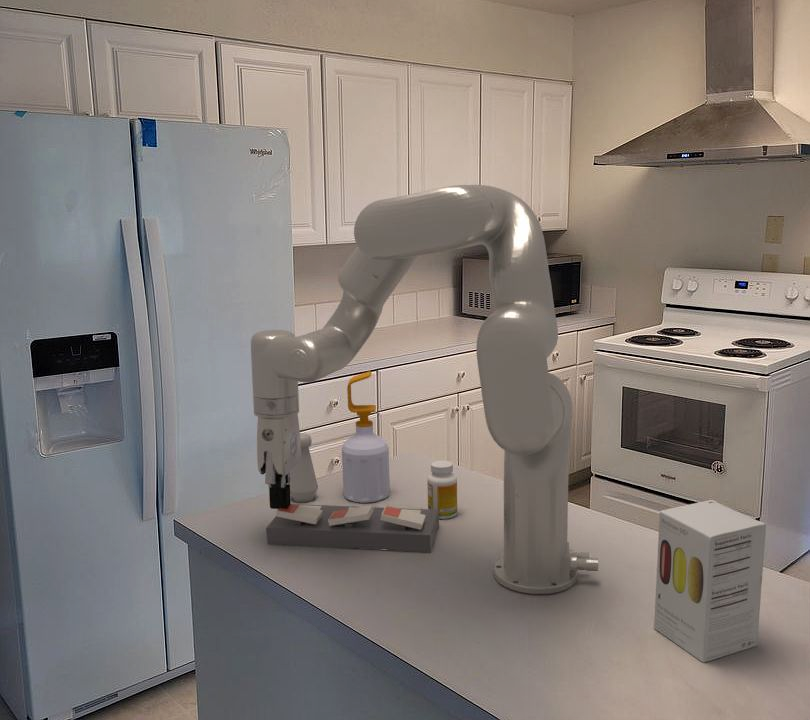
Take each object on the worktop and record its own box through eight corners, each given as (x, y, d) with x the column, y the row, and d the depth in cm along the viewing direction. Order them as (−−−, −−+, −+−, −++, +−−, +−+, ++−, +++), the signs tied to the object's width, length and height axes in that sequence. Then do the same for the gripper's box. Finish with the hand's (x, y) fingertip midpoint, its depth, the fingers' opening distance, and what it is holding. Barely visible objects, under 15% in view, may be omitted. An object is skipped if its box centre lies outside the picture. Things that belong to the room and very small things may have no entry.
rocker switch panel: (439, 525, 144) (438, 506, 143) (430, 552, 133) (430, 531, 132) (287, 519, 148) (285, 500, 148) (267, 544, 138) (265, 523, 137)
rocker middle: (373, 510, 139) (372, 504, 139) (368, 519, 135) (367, 513, 135) (335, 516, 141) (333, 510, 140) (329, 525, 137) (327, 519, 136)
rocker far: (322, 515, 141) (323, 509, 141) (316, 524, 137) (316, 518, 137) (283, 507, 142) (284, 501, 142) (276, 516, 138) (277, 510, 138)
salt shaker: (304, 491, 163) (300, 428, 160) (324, 497, 159) (321, 433, 156) (282, 499, 158) (278, 435, 156) (302, 506, 155) (299, 440, 152)
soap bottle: (389, 503, 155) (385, 377, 150) (341, 504, 155) (336, 378, 150) (390, 486, 164) (387, 367, 159) (345, 487, 164) (340, 368, 159)
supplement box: (651, 628, 108) (656, 509, 105) (704, 612, 112) (710, 497, 109) (704, 664, 100) (711, 536, 96) (760, 646, 103) (768, 522, 100)
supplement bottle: (462, 511, 150) (462, 461, 148) (448, 522, 145) (447, 470, 144) (437, 506, 153) (436, 457, 151) (422, 516, 148) (421, 465, 146)
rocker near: (424, 520, 138) (425, 514, 138) (421, 529, 134) (422, 523, 134) (384, 510, 139) (385, 504, 139) (380, 519, 135) (381, 513, 135)
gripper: (283, 417, 128) (288, 526, 132) (310, 394, 143) (313, 492, 146) (238, 415, 129) (244, 523, 133) (269, 392, 144) (273, 490, 148)
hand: (280, 507), depth 140 cm, fingers closed
